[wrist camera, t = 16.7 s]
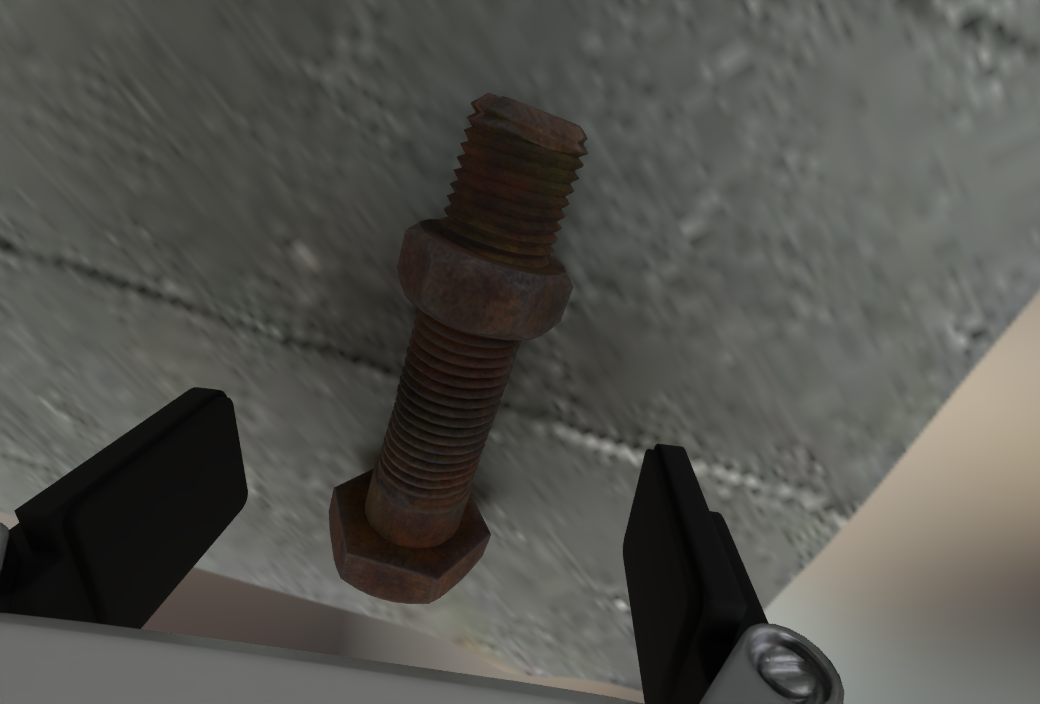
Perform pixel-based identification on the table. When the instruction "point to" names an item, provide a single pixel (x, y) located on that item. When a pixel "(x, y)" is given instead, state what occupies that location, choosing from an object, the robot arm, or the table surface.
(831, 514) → the table surface
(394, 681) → the robot arm
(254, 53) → the table surface
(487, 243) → the bolt
